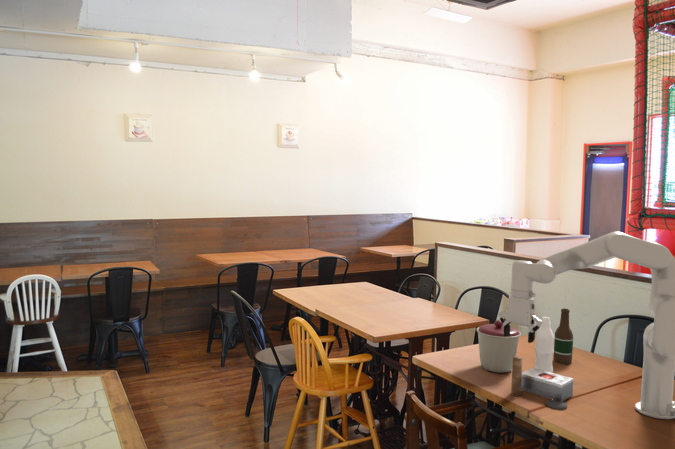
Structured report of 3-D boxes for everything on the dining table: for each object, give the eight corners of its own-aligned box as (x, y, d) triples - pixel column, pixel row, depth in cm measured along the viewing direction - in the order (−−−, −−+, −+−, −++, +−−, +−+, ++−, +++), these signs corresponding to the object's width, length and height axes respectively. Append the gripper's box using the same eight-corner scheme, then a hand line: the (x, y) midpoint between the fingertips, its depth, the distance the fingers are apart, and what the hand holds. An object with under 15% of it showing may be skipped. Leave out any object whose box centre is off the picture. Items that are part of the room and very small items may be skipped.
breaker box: (572, 395, 203) (573, 378, 203) (561, 402, 196) (562, 385, 196) (531, 383, 214) (532, 367, 214) (519, 389, 207) (520, 373, 207)
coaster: (570, 405, 193) (570, 404, 193) (562, 411, 188) (562, 409, 188) (551, 400, 198) (551, 398, 198) (542, 405, 193) (542, 403, 193)
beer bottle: (573, 361, 243) (576, 308, 241) (570, 366, 236) (573, 312, 234) (554, 357, 247) (557, 306, 245) (551, 362, 241) (554, 309, 239)
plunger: (553, 383, 205) (554, 377, 205) (549, 386, 202) (549, 379, 202) (543, 380, 208) (543, 374, 208) (538, 383, 205) (539, 377, 205)
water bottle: (553, 381, 217) (557, 320, 215) (535, 379, 219) (538, 319, 217) (550, 375, 224) (553, 316, 222) (532, 373, 226) (535, 314, 224)
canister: (475, 360, 242) (477, 313, 240) (517, 364, 237) (520, 317, 235) (474, 373, 224) (476, 323, 223) (520, 378, 220) (522, 327, 218)
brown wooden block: (522, 394, 203) (524, 357, 202) (517, 396, 201) (519, 359, 200) (513, 391, 206) (515, 355, 204) (509, 393, 203) (511, 357, 202)
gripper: (548, 296, 197) (545, 342, 199) (505, 288, 210) (502, 332, 211) (538, 299, 192) (535, 346, 193) (495, 291, 205) (492, 335, 206)
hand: (518, 339), depth 202 cm, fingers open, 9 cm apart
